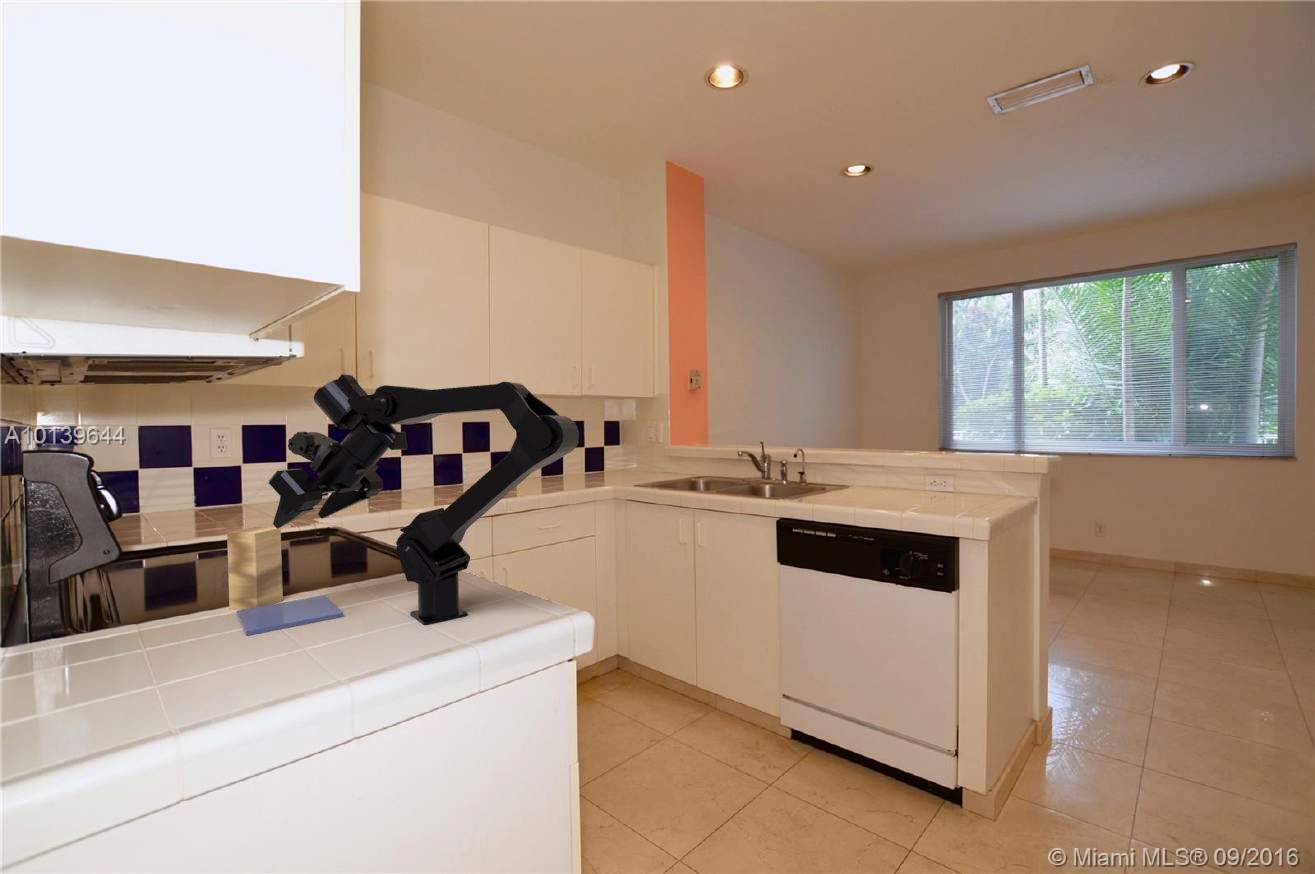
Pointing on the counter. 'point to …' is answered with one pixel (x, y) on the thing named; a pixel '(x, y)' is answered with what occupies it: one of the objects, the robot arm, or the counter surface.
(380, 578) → the counter surface
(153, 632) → the counter surface
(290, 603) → the blue tile
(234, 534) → the oak block
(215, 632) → the counter surface
